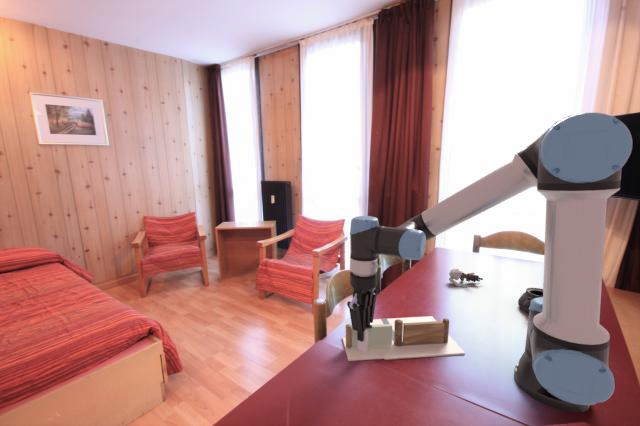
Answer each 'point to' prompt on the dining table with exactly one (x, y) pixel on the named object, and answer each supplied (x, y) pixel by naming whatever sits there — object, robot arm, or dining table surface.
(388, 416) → the dining table surface
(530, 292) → the teapot
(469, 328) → the dining table surface
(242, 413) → the dining table surface
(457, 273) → the toy
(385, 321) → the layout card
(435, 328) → the fence fixed
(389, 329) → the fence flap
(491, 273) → the dining table surface
